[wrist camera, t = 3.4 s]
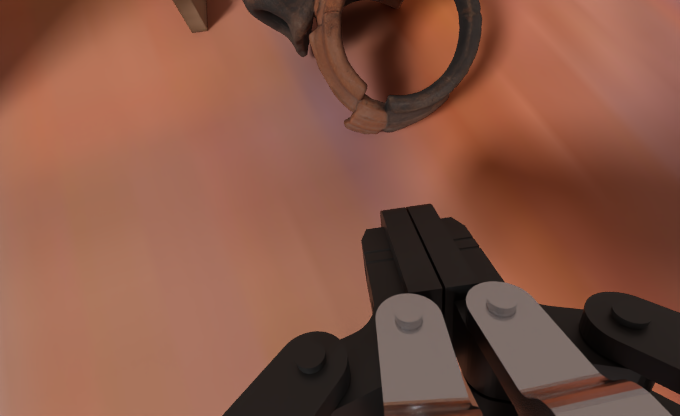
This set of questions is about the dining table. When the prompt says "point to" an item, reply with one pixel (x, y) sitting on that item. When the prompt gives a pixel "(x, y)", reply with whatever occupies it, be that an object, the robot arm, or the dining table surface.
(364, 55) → the dining table surface
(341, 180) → the dining table surface
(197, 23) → the wooden corral
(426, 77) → the dining table surface
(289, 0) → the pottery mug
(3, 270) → the dining table surface
